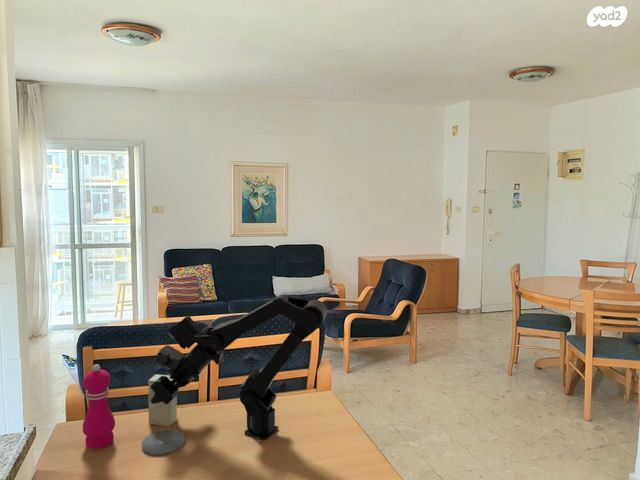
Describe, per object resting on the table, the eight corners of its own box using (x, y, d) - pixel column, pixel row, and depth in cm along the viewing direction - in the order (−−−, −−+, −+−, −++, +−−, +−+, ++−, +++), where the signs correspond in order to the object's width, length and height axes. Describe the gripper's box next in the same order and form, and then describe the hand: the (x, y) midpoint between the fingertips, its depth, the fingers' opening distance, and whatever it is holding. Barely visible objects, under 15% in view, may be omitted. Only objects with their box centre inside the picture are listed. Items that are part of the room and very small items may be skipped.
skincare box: (148, 424, 126) (146, 380, 125) (156, 416, 131) (155, 373, 129) (170, 426, 125) (169, 382, 124) (178, 418, 130) (177, 375, 128)
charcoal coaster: (193, 438, 119) (193, 435, 119) (163, 459, 111) (163, 456, 110) (163, 429, 124) (163, 426, 124) (132, 448, 115) (132, 445, 115)
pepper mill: (103, 452, 113) (99, 371, 110) (76, 448, 114) (72, 368, 112) (122, 436, 120) (118, 360, 117) (96, 433, 121) (92, 357, 119)
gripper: (190, 327, 133) (155, 362, 137) (156, 350, 115) (116, 390, 118) (217, 356, 133) (181, 390, 136) (188, 384, 115) (147, 423, 118)
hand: (157, 397), depth 127 cm, fingers open, 6 cm apart
